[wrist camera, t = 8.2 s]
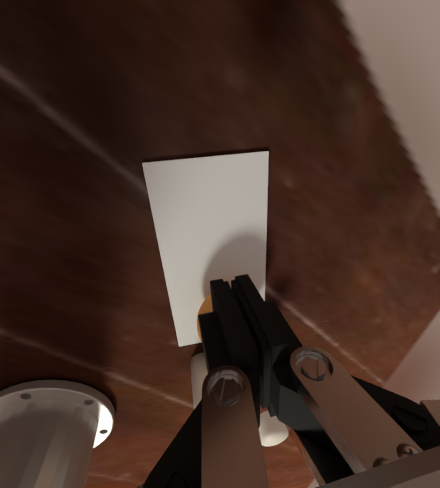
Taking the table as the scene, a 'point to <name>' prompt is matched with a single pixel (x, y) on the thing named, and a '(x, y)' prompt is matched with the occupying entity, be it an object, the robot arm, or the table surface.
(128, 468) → the table surface
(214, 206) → the lane mark
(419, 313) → the table surface
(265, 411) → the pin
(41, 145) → the table surface
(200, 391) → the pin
